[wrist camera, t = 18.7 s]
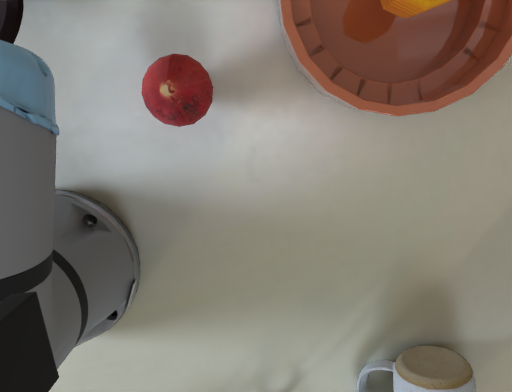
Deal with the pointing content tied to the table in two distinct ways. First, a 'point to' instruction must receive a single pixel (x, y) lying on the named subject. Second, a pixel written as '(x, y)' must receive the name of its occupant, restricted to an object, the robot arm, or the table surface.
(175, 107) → the onion
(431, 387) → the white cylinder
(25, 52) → the robot arm
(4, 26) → the mug
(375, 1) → the basin
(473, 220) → the table surface
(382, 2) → the carrot
